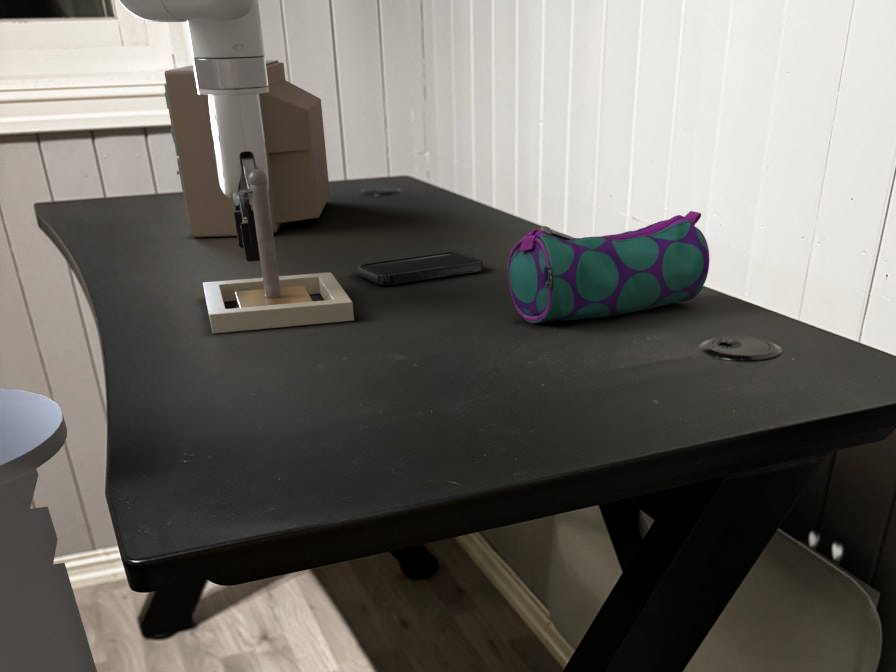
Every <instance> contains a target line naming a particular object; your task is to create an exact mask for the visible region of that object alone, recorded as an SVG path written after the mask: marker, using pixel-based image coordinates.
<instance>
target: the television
mask: <svg viewBox="0 0 896 672" xmlns="http://www.w3.org/2000/svg"><path fill="white" fill-rule="evenodd" d="M265 61H266V70H267V78H268V87H269V92H267V93H260V94H259V101H260V108H261V115H262V123H263V131H264V139H265V148H266V157H267V167H268V179H269V192H268V196H269V204H270V211H271V219H272V227H273V233H276V232H277V231H278V229H279V228H280V227H281V225H282V224H285V223H293V222H298V221H299V222H300V221H306V220H312V219H313V220H314V219H319V218H320V217H321V214H322V213H323V210H324V208H325V206H326V204H327V202H328V200H329V198H330V195H331V192H330V184H329V183H330V181H329V172H328V171H329V170H328V160H327V149H326V140H325V129H324V128H325V127H324V117H323V107H322V99H321V98H320V97H318V96H316V95H314V94H313V93H311V92H309V91H307V90H305V89H303V88H302V87H299V86H297V85H295V84H294V83H292V82H289V81H288V80H286V71H285V64H284V62H282V61H281V62H279V60H277V59H274V60H273V59H269V60H268V59H267V60H266V59H265ZM164 78H165V83H164V84H163V85H164V97H165V98H164V99H165V104H166V109H167V110H168V115H169V120H170V126H171V128H170V130H169V131H170V134H171V138H172V142H173V144H174V148H175V155H176V156H177V158H176V162H177V168H178V170H176V175H179V179H180V184H181V190H182V197H183V202H184V208H185V213H186V220H187V226H188V227H190V229H191V234H192V238H217V237H219V238H221V237H222V238H223V237H226V238H227V237H237V232H236V225H235V218H234V212H240V211H235V207H234V200H233V193H232V198H229V197H227V196H226V195H225V194H224V193H223V191H222V190H221V188H220V185H219V177H218V169H217V162H216V155H215V148H214V141H213V134H212V126H211V118H210V108H209V95H200V94H198V89H197V83H196V76H195V70H194V64H190V65H187V66H183V67H182V66H181V67H178V68H177V67H176V68H172V69H168V70H165V71H164Z"/></svg>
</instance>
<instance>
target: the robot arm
mask: <svg viewBox="0 0 896 672" xmlns="http://www.w3.org/2000/svg"><path fill="white" fill-rule="evenodd" d="M118 2H119V3H120V4H121V6H123V8H124V9H126V11H127V12H129V13H131V14H132V15H133V16H135V17H137V18H139V19H142V20H144V21H148V22H152V23H185V22H186V23H187V32H188V36H189V43H190V51H191V56H192V62H193V64H192V65H194V70H195V76H196V83H197V89H198V94H200V95H209V108H210V118H211V126H212V134H213V141H214V148H215V155H216V162H217V169H218V177H219V185H220V188H221V190H222V191H223V193H224V194H225V195H226V196H227V197H229V198H232V193H233V200H234V207H235V211H240V212H234V218H235V225H236V232H237V236H236V238H237V244H238V247H239V248H240V249H243V251H244V258H245V260H246V261H247V262H250V263H251V262H260V255H259V248H258V241H257V233H256V226H255V219H254V211H253V204H252V193H253V192H252V188H251V186H250V184H249V182H248V176H249V173H250V172H251V171H252V170H254V169H259V170H262V171H263V172H264V173H265V174H266V176H267V188H268V192H269V179H268V167H267V157H266V148H265V139H264V131H263V123H262V115H261V108H260V101H259V94H260V93H267V92H269V87H268V78H267V70H266V57H265V56H266V55H265V46H264V45H265V44H264V37H263V30H262V29H263V28H262V21H261V12H260V5H259V0H118Z"/></svg>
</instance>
